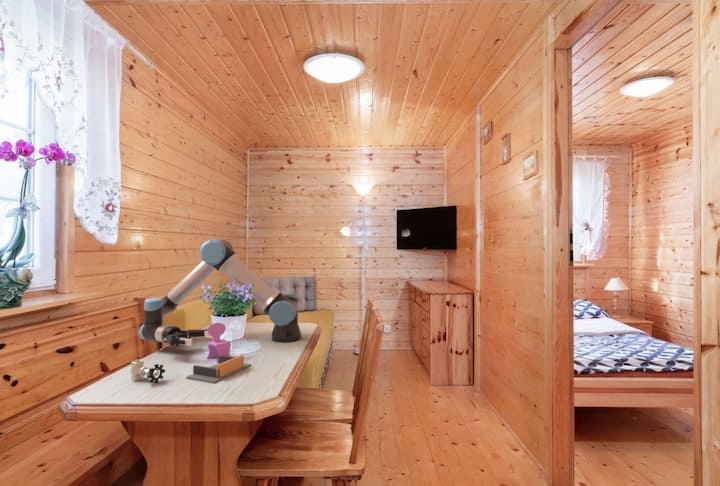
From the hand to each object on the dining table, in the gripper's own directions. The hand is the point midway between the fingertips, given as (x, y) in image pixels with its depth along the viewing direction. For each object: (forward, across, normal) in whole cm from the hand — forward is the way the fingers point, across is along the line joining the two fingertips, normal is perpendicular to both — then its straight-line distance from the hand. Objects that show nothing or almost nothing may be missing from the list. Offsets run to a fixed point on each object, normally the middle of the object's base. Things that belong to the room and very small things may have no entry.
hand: (204, 338), depth 157 cm
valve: (+1, +28, -8) cm, 30 cm away
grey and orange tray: (+19, +12, -8) cm, 23 cm away
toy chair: (+8, 0, -8) cm, 11 cm away
